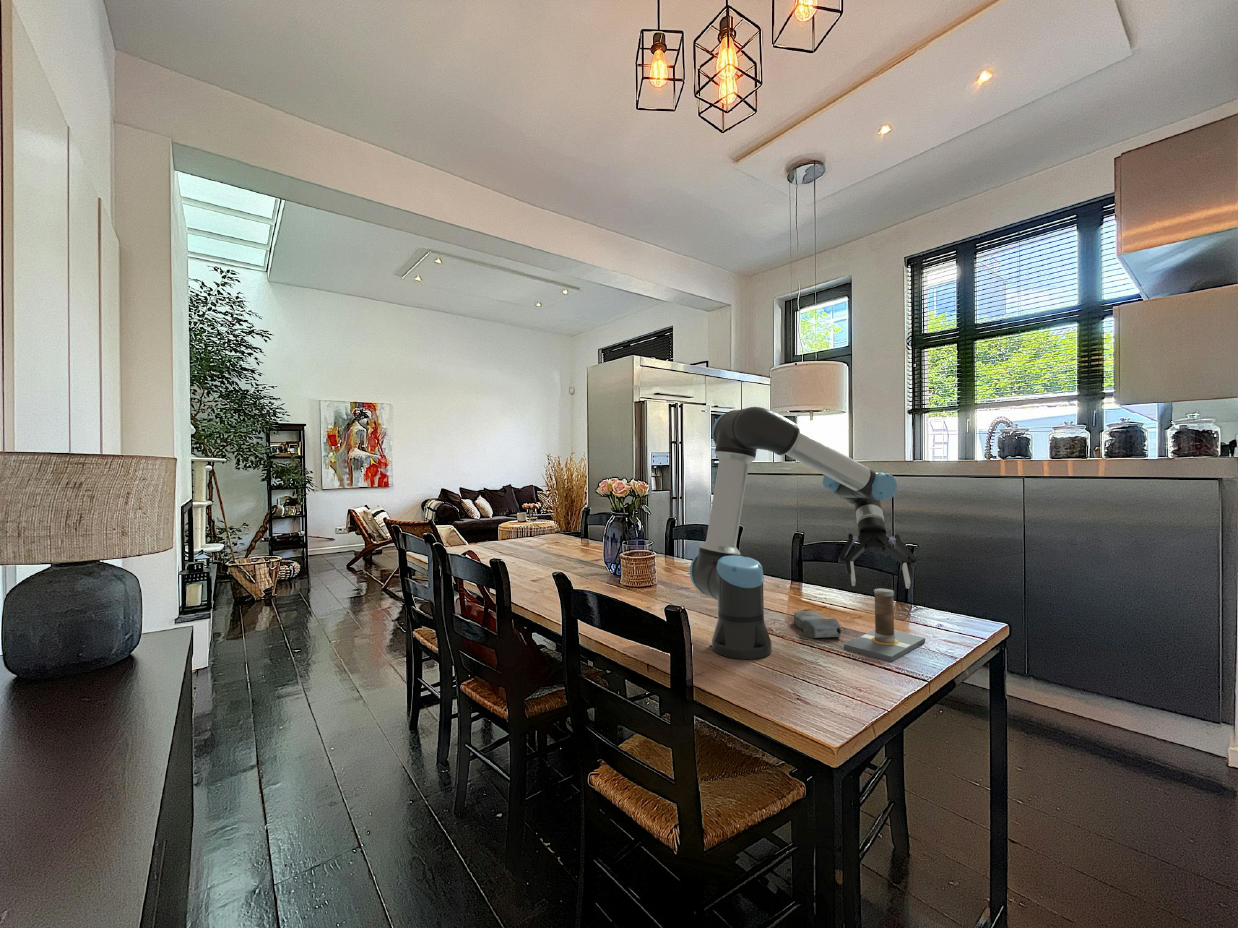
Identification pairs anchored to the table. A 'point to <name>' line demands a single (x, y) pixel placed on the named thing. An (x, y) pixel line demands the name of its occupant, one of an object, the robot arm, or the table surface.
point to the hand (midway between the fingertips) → (880, 584)
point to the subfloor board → (884, 645)
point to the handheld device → (816, 625)
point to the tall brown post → (884, 616)
